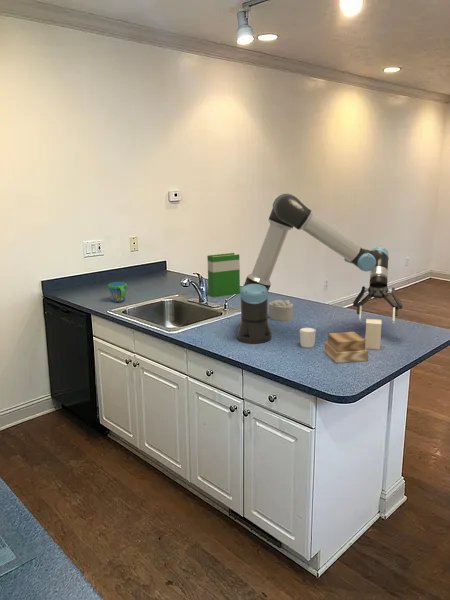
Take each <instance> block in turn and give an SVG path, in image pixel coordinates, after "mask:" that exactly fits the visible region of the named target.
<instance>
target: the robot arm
mask: <svg viewBox="0 0 450 600" xmlns="http://www.w3.org/2000/svg"><path fill="white" fill-rule="evenodd" d="M268 222H269V227H268V229H267V232H266V234H265V238H264V240H263V242H262V245H261V247H260V251H259V253H258V257H257V259H256V261H255V264H254V267H253V269H252V272H251V273H250V274H248V275H247V276H246V278H245V281H244V283H243V285H242V286H241V288H240V295H239V296H240V308H241V309H240V317H241V318H240V319H241V321H240V324H239V328H238V330H237V340H238V341H240V342H242V343H248V344H262V343H267V342H269V341H271V340H272V330H271V328H270V325H269V321H268V319H269V302H268V299H269V298H268V296H269V290H270V288H271V285H272V283H271V280H270V279H271V277H272V274H273V271H274V269H275V266H276V263H277V261H278V259H279V256H280V254H281V253H280V252H281V250H282V247H283V245H284V242H285V241H286V238H287V236H288V232H289V231H290V230H292V229H294V228H295V229H297V230H299V231H301V230H302V231H304V232H305V233H306V234H308V235H310V236H311V237H313V238H314V239H316V240H317V241H318V242H320V243H322V244H323V245H324V246H326V247H327V248H329V249H330V250H331V251H333V252H335V253H337V254H338V255H339V256H341V257H343V260H344V262H346V263H348V264H353V265H354V266H355V267H357V268H358V269H359V270H361V271H362V272H369V287H365V286H364V285H363V286H361V291H360V292H359V293H358V295H357V296H356V298H355V299H354V300H353V302H352V305H353V307H354V308H356V314H357V315H359V316H358V317H359V318H358V322H359V323H361V322H362V309H363V306H364V305H365V304H366V303H367V302H368V301H370V300H371V299H372V298H374V299H384V300H385V301H386V302H387V303H388V304H389V305H390V307H392V324H393V325H395V321H396V320H395V319H396V317H398V315H399V310H402V309H403V303H402V301H401V300H400V297H399V296H398V295H397V293H396V288H395V287H391V288H388V282H389V281H388V276H389V272H388V271H389V260H390V258H389V251H388V249H387V248H386V247H382V246H380V247H378V246H376V247H374V248H372V249H371V250H370V249H367V248H362V247H361V246H359V244H357V243H355V242H353V241H352V240H351V239H350V238H348V237H347V236H345V235H343V234H342V233H340V232H339V231H338V230H336V229H335V228H333V227H332V226H331V225H329V224H328V223H326V222H325V221H323V220H322V219H320V218H319V217H317V216H316V215H314V214H313V211H312V209H310V208H309V207H307V206H306V205H305V204H304V203H303V202H302V201H301V200H300V199H299V198H298V197H296V196H295V195H293V194H290V193H282V194H279V195H278V196H277V197H276V198H275V199H274V200H273V203H272V210H271V212H270V215H269V217H268ZM367 292H368V294H367V295H366V296H365V297H364V295H365V294H366V293H367ZM388 293H389V294H390V295H391V297H392V298H391V297H390V296H389V294H388Z"/></svg>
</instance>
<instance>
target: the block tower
mask: <svg viewBox="0 0 450 600" xmlns="http://www.w3.org/2000/svg"><path fill="white" fill-rule="evenodd" d="M323 350H324V353H325V354H326V355H327V356H328V357H329V358H330V359H331V360H332V361H333V362H334V363H335V364H340V363H351V362H352V363H355V362H365V361H366V362H367V361H369V349H366V348H365V338H363V337H362V336H361V335H359V334H358V333H357V332H355V331H344V332H329V333H328V334H327V341H325V342H324V349H323Z"/></svg>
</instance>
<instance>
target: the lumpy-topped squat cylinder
mask: <svg viewBox="0 0 450 600" xmlns="http://www.w3.org/2000/svg"><path fill="white" fill-rule="evenodd" d="M269 317H270V318H269ZM268 318H269V319H271V320H274V321H277V322H278V321H280V322H290V321H293V319H294V304H293V303H292V302H291V301H290V300H289V299H286V300H282V299H276V300H272V301H270V302H268Z"/></svg>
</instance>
